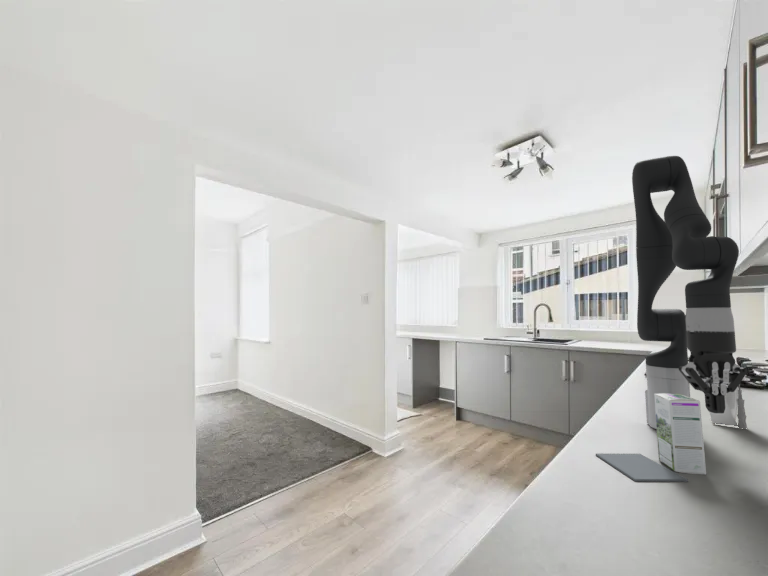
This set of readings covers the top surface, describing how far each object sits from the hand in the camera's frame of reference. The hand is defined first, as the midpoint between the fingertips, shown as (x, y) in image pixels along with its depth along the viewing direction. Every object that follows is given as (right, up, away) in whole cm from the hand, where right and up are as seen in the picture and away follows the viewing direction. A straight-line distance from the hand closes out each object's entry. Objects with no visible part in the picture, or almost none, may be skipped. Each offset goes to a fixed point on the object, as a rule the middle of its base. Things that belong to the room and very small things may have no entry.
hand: (715, 412), depth 71 cm
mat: (-17, -11, -1) cm, 20 cm away
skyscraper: (+30, -14, +28) cm, 43 cm away
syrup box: (-8, -11, -1) cm, 14 cm away
